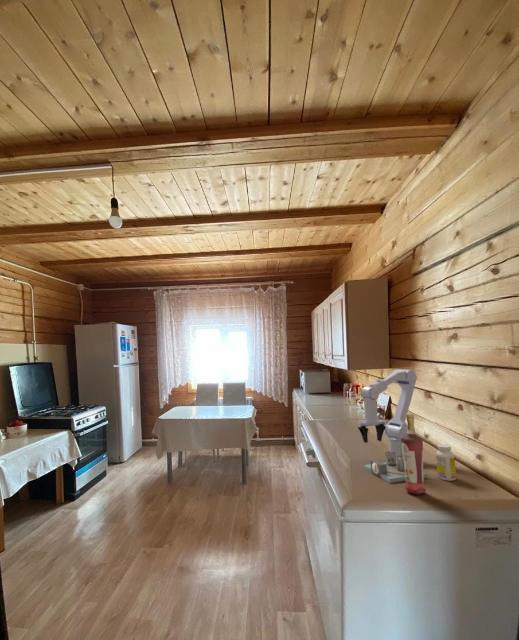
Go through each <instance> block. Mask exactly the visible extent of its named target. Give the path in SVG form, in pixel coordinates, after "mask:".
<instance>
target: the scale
mask: <svg viewBox="0 0 519 640" xmlns="http://www.w3.org/2000/svg"><path fill="white" fill-rule="evenodd" d="M363 469H364V470H366V471H367V472H368V473H371V474H372V473H373V475H374V474H375V475H374V476H376V477H378V478H380V479H381V480H383V481H385V482H387V483H389V484H393V483H400V482H406V477H405V472H400V471H398V470H397V461H396V466H388V465H387V464H386V461H385V462H384V461H381V460H379V459H371V460H370V463H369V464H363ZM423 478H424V479H427V478H428V473H426V472H424V471H423Z"/></svg>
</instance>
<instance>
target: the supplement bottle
mask: <svg viewBox="0 0 519 640" xmlns="http://www.w3.org/2000/svg"><path fill="white" fill-rule="evenodd" d="M451 447H452V446H450V445H449V444H445V443H444V444H441V443H440V444H438V445H437V449H438V450H437V451H436V452H435V459H436V470H437V477H438V478H439V479H440V480H443V481H448V482H450V481H456V480H457V472H456V471H457V470H456V461H455V455H454V453H453V452H452V451H451V450H452V448H451Z"/></svg>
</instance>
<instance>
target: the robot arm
mask: <svg viewBox="0 0 519 640" xmlns="http://www.w3.org/2000/svg"><path fill="white" fill-rule="evenodd" d="M417 379H418V377H417V374H416V371H415V370H414V369H401V368H400V369H399V368H396V369H394V370H392V373H390V374H389V375H388V376H386V377H384V379H380V378H377V379H376V380H375V382H373V383H370V384H369V385H368V386H364V387H363V388H362V389H361V392H360V395H361V397H362V401H363V407H364V420H363V421H359V422H356V425H357V429H358V430H359V432H360V434H361V437H362V441H363V442H364V443H366V444H367V443H369V442H368V439H369V438H368V437H369V436H368V433H369V428H367V427H373V426H374V427H375V430H376V440H377V441H378V442H382V439H383V435H384V434H385V436H387V439H388V444H389V445H388V447H389V448H388V449H389V452H395V453H396V461H397V457H399V456H402V457H403V451H402V441H401V439H402V438H403V437H404V436H407V425H408V423H406V421H407V418H406V414H409V413H408V412H409V409H410V405H411V402H412V398H413V395H414V392H415V386H416V381H417ZM395 382H396V383H397V384H398V386H399V387H400V388H401V392H400V395H399V397H398V398H399V399H398V402H397V404H396V409H395V411H394V412H395V413H394V415H393V418H391V419H390V420H388V422H386V420H385V419H378V406H377V405H378V404H377V400H378V398H379V396H380V394H382V393H384V392H385V391H387V389H388V387H389V386H390V385H392V384H393V383H395Z"/></svg>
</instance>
